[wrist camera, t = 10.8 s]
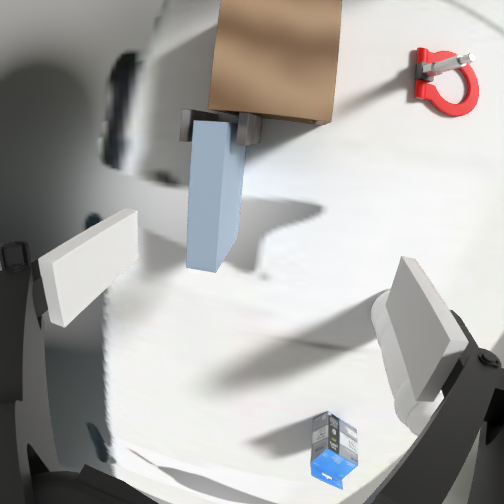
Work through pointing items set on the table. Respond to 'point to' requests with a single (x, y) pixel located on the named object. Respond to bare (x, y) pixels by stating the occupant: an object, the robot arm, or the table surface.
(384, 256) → the table surface
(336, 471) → the label tape box
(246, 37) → the cabinet
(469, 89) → the tow hook
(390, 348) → the water bottle
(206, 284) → the table surface
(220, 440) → the table surface
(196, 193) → the door
